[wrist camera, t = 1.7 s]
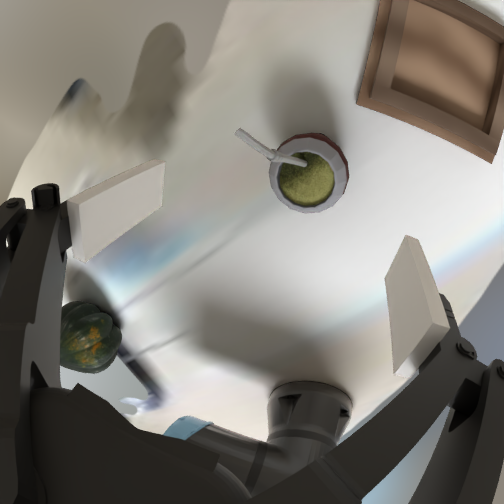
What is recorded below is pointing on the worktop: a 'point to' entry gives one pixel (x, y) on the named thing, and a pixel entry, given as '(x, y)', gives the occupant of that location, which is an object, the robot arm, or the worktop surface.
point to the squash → (87, 338)
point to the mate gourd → (305, 170)
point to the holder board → (438, 71)
